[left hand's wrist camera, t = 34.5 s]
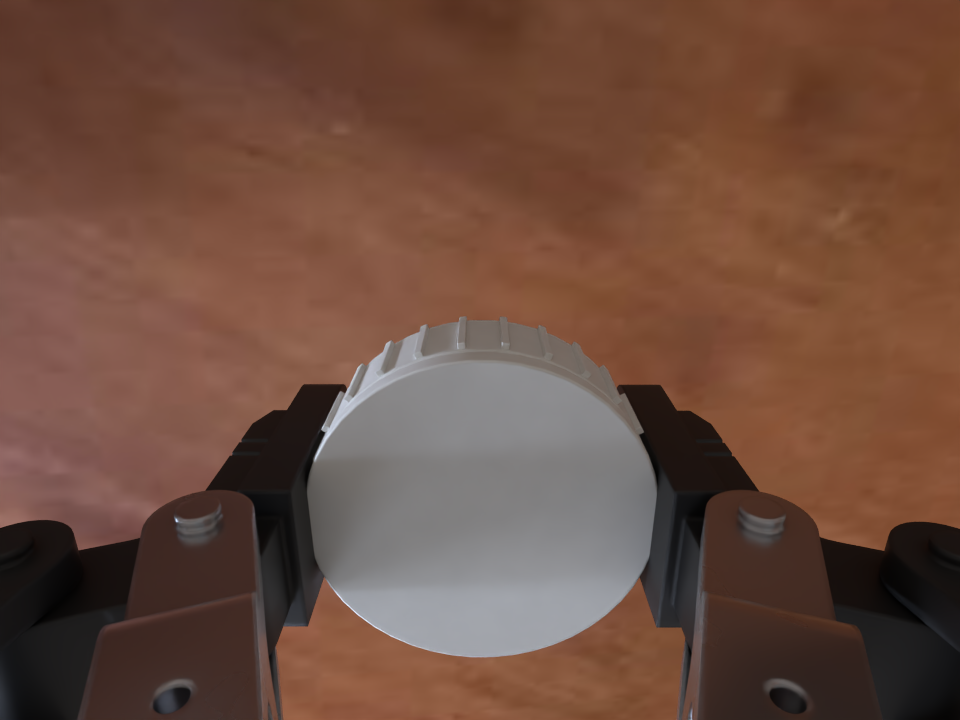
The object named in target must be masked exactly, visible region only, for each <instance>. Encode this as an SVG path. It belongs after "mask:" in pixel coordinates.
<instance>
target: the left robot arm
mask: <svg viewBox="0 0 960 720" xmlns="http://www.w3.org/2000/svg"><path fill="white" fill-rule="evenodd" d="M340 391H341V392H343V393H346V391H347V388H346V386H345V385H344V384H304V385H303V386H302V387H301V389H300V390H299V392H298V393H297V395H296V397H295V398H294V400H293V401H292V403H291V405H290V406H289V408H288V409H287V410H273V411H272V412H270V413H269V414H267V415H265V416H264V417H262V418H261V419H259V420H258V421H256V422H255V423H253V424H252V425H251V427H250V428H249V430H248V431H247V432H246V434H245V435H244V437H243V438H242V442H239V444H238V445H237V447H236V448H235V449H234V451H233V452H232V453H233V454H232V456H229V458H228V459H227V461H226V462H225V464H224V465H223V466H222V468H221V469H220V471H219V472H218V474H217V475H216V476H215V478H214V479H213V481H212V482H211V483H210V485H209V486H208V488H207V489H206V491H202V492H197V493H193V494H189V495H186V496H183V497H180V498H178V499H175V500H173V501H171V502H169V503H167V504H165V505H164V506H162V507H161V508H159V509H158V510H156V511H155V512H154V513H153V514H152V515H151V516H150V517H149V518H148V519H147V520H146V522H145V524H144V525H143V528H142V532H141V537H140V538H138V539H134V540H130V541H125V542H120V543H115V544H110V545H105V546H99V547H94V548H89V549H84V550H79V551H78V547H77V544H76V540H75V537H74V533H73V531H72V529H71V528H70V527H69V526H68V525H66V524H64V523H61V522H58V521H51V520H36V521H27V522H22V523H17V524H13V525H9V526H5V527H2V528H0V720H283V710H282V699H281V687H280V676H279V665H278V657H277V651H276V644H277V642H278V639H279V636H280V634H281V631H282V628H283V626H308V624H309V621H310V618H311V615H312V612H313V609H314V606H315V603H316V600H317V597H318V594H319V591H320V588H321V584H322V581H323V578H324V575H323V574H322V572H321V570H320V568H319V566H318V564H317V562H316V560H315V555H314V547H313V539H312V531H311V522H310V514H309V506H308V497H307V481H308V476H309V472H310V469H311V467H312V464H313V458H314V456H315V453H316V451H317V449H318V447H319V445H320V443H321V441H322V438H323V436H324V434H325V432H324V431H322V430H321V429H322V427H323V425H324V423H325V421H326V419H327V417H328V415H329V413H330V411H331V408H332V406H333V404H334V402H335V400H336V398H337V396H338V394H339V392H340ZM617 391H618V393H619V395H621V394H623V393H625V395H626V397H627V398H628V401H629V403H630V405H631V407H632V409H633V411H634V413H635V415H636V417H637V419H638V421H639V423H640V425H641V427H642V429H643V431H644V432H643V433H641V434H639V436H640V438H641V440H642V443H643V445H644V447H645V449H646V451H647V453H648V455H649V458H650V461H651V463H652V466H653V469H654V472H655V475H656V480H657V498H656V506H655V515H654V523H653V531H652V539H651V547H650V555H649V560H648V562H647V564H646V566H645V568H644V570H643V572H642V574H641V575H640V579H641V582H642V585H643V588H644V591H645V594H646V597H647V600H648V603H649V606H650V609H651V612H652V615H653V618H654V621H655V624H656V627H682V630H683V633H684V635H685V644H684V651H683V657H682V665H681V676H680V687H679V699H678V710H677V720H960V529H958V528H955V527H951V526H947V525H942V524H937V523H930V522H909V523H904V524H900V525H898V526H896V527H894V528H893V529H892V530H891V532H890V534H889V537H888V540H887V543H886V547H885V550H884V551H881V550H876V549H871V548H866V547H861V546H856V545H850V544H845V543H840V542H836V541H831V540H827V539H824V538H821V537H819V532H818V528H817V525H816V524H815V522H814V520H813V519H812V518H811V517H810V516H809V515H808V514H807V513H806V512H805V511H804V510H802V509H801V508H799V507H798V506H796V505H795V504H793V503H791V502H789V501H787V500H785V499H782V498H780V497H777V496H774V495H771V494H767V493H763V492H759V490H758V489H757V488H756V486H755V485H754V483H753V482H752V481H751V479H750V478H749V476H748V475H747V474H746V472H745V471H744V469H743V468H742V467H741V465H740V464H739V462H738V461H737V460H736V458H735V457H734V456H732V453H731V451H730V450H729V448H728V447H727V446H726V444H725V443H722V439H721V437H720V436H719V434H718V433H717V432H716V430H715V429H714V427H713V426H712V425H711V424H710V423H708V422H707V421H705V420H704V419H702V418H701V417H699V416H697V415H696V414H694V413H693V412H691V411H677V410H676V409H675V407H674V405H673V404H672V402H671V401H670V399H669V398H668V396H667V394H666V393H665V391H664V390H663V388H662V387H661V386H660V385H619V386H618V387H617Z"/></svg>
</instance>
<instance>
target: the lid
mask: <svg viewBox="0 0 960 720" xmlns="http://www.w3.org/2000/svg"><path fill="white" fill-rule="evenodd" d="M321 430H322V431H324V432H325V434H324V436H323V438H322V441H321V443H320V445H319V447H318V449H317V451H316V453H315V456H314V458H313V464H312V467H311V469H310V472H309V476H308V481H307V497H308V506H309V514H310V522H311V531H312V539H313V547H314V555H315V560H316V562H317V564H318V566H319V568H320V570H321V572H322V574H323V575H324V577H325V578H326V580H327V582H328V583H329V585H330V586H331V587H332V589H333V590H334V591H335V592H336V593H337V595H338V596H339V597H340V598H341V599H342V601H343V602H344V603H345V604H346V605H348V606H349V607H350V608H351V609H352V610H353V611H354V612H355V613H356V614H357V615H359V616H360V617H361V618H363V619H364V620H365V621H367V622H368V623H370V624H371V625H372V626H374V627H375V628H377V629H379V630H381V631H383V632H384V633H386V634H388V635H390V636H391V637H394V638H396V639H398V640H401V641H403V642H405V643H408V644H410V645H413V646H416V647H419V648H423V649H426V650H429V651H434V652H439V653H443V654H448V655H456V656H466V657H497V656H508V655H515V654H520V653H525V652H530V651H535V650H538V649H541V648H544V647H548V646H551V645H554V644H556V643H559V642H561V641H563V640H566V639H568V638H570V637H572V636H574V635H576V634H578V633H580V632H581V631H583V630H585V629H587V628H588V627H590V626H592V625H593V624H594V623H596V622H597V621H598V620H600V619H601V618H603V617H604V616H605V615H607V614H608V613H609V612H610V611H611V610H612V609H613V608H614V607H615V606H616V605H617V604H619V603H620V602H621V601H622V599H623V598H624V597H625V596H626V595H627V593H628V592H629V591H630V590H631V589H632V587H633V586H634V585H635V583H636V581H637V580H638V578H639V577H640V575H641V574H642V572H643V570H644V568H645V566H646V564H647V562H648V560H649V555H650V547H651V539H652V531H653V523H654V515H655V506H656V498H657V480H656V475H655V472H654V469H653V466H652V463H651V461H650V458H649V455H648V453H647V451H646V449H645V447H644V445H643V443H642V440H641V438H640V436H639V434H641V433H643V432H644V431H643V429H642V427H641V425H640V423H639V421H638V419H637V417H636V415H635V413H634V411H633V409H632V407H631V405H630V403H629V401H628V398H627V397H626V395H625V393H623V394H621V395H619V393H618V391H617V388H616V386H615V384H614V382H613V380H612V378H611V376H610V374H609V372H608V369H607V368H606V367H605V366H604V365H602V366H601V367H600V368H599V367H598V366H597V365H596V364H595V363H594V362H593V361H592V360H591V359H590V358H588V357H587V356H586V355H584V354H583V352H582V350H581V347H580V345H579V344H577V343H576V342H574V343H573V344H572V345H570V344H568V343H566V342H565V341H563V340H561V339H559V338H557V337H556V336H553V335H551V334H548V333H547V331H546V328H545V327H543V326H541V325H539V326H538V329H536V328H532V327H528V326H524V325H520V324H516V323H510V322H507V317H500V319H499V321H494V320H470V321H467V317H466V316H465V317H460V318H459V322H454V323H448V324H444V325H440V326H436V327H432V328H429V327H428V325H427V324H426V325H423V326H421V328H420V332H418V333H416V334H413V335H410V336H408V337H406V338H405V339H403V340H401V341H399V342H397V343H396V344H394V343H393V341H392V340H391V341H389V342H388V343H386V346H385V348H384V351H383V352H382V353H381V354H379V355H378V356H377V357H375V358H374V359H373V360H372V361H371V362H370V363H369V364H368V365H367V366H365V365H364V364H363V363H362V364H361V365H360V366H359V367H358V368H357V371H356V373H355V375H354V377H353V379H352V382H351V384H350V386H349V388H348V389H347V391H346V393H343V392H341V391H340V392H339V394H338V396H337V398H336V400H335V402H334V404H333V406H332V408H331V411H330V413H329V415H328V417H327V419H326V421H325V423H324V425H323V427H322V429H321Z"/></svg>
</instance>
